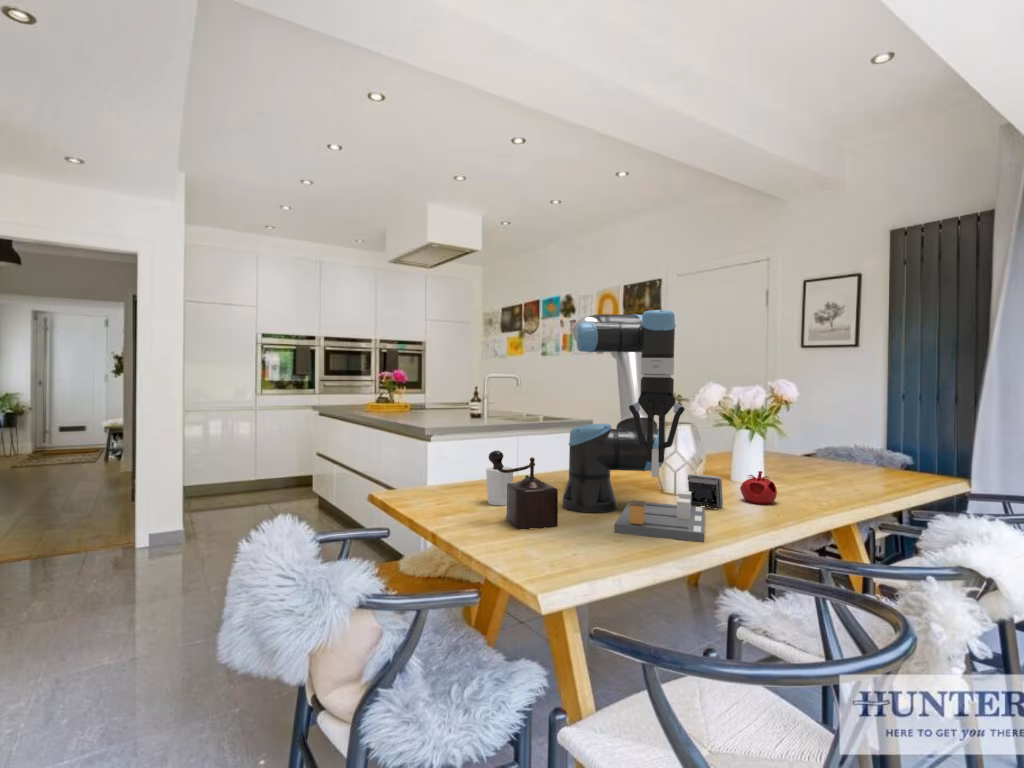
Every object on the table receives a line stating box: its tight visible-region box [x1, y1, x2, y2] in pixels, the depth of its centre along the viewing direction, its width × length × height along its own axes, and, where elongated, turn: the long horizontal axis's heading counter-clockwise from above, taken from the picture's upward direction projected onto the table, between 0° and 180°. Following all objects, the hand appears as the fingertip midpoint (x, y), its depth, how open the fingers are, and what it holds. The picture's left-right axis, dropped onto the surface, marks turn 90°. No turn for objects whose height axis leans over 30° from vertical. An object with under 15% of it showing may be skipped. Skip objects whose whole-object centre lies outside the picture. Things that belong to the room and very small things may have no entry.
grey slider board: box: [614, 490, 706, 543], centre depth 136 cm, size 20×26×6 cm
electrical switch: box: [687, 473, 724, 510], centre depth 154 cm, size 9×5×9 cm, turn 57°
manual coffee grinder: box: [488, 449, 559, 530], centre depth 134 cm, size 16×11×18 cm
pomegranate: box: [739, 471, 778, 505], centre depth 161 cm, size 10×10×9 cm
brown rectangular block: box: [630, 499, 647, 524], centre depth 128 cm, size 3×4×5 cm
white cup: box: [485, 466, 514, 507], centre depth 156 cm, size 8×8×10 cm
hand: (655, 475), depth 127 cm, fingers closed
